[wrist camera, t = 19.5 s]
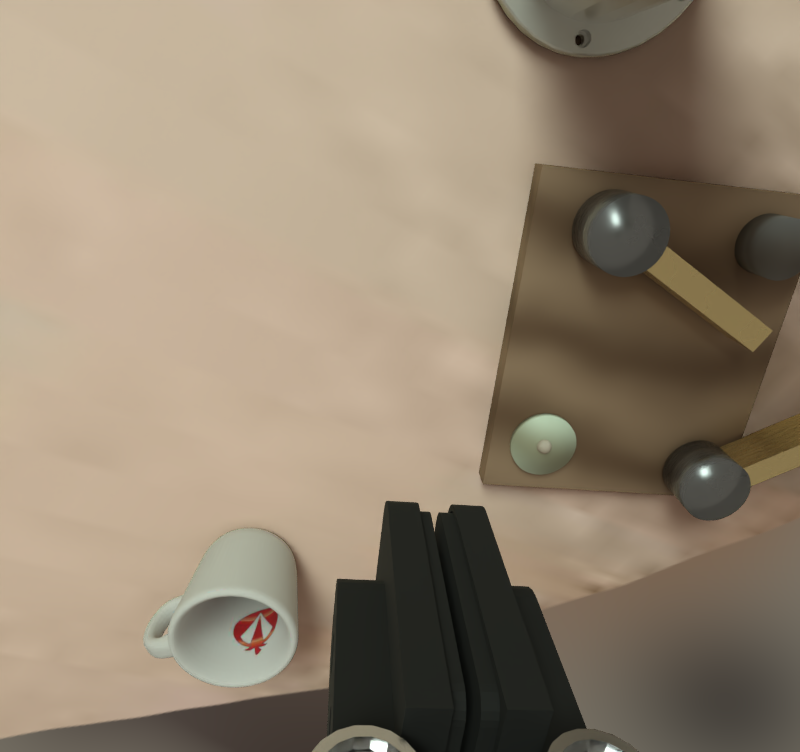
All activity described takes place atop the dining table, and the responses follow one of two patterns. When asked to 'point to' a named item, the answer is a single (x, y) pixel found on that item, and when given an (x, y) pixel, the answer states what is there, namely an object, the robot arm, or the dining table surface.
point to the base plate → (632, 336)
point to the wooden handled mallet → (730, 468)
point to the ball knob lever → (656, 259)
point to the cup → (233, 612)
